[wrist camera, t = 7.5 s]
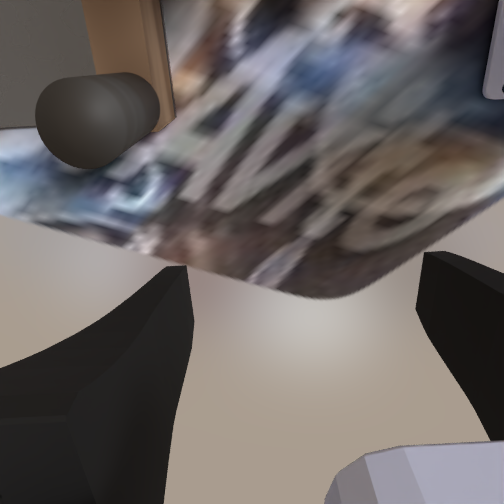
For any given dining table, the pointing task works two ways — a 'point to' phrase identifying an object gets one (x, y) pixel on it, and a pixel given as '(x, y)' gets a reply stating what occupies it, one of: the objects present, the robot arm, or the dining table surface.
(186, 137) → the dining table surface
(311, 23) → the dining table surface
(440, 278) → the robot arm
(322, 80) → the dining table surface
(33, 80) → the vice frame
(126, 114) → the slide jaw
